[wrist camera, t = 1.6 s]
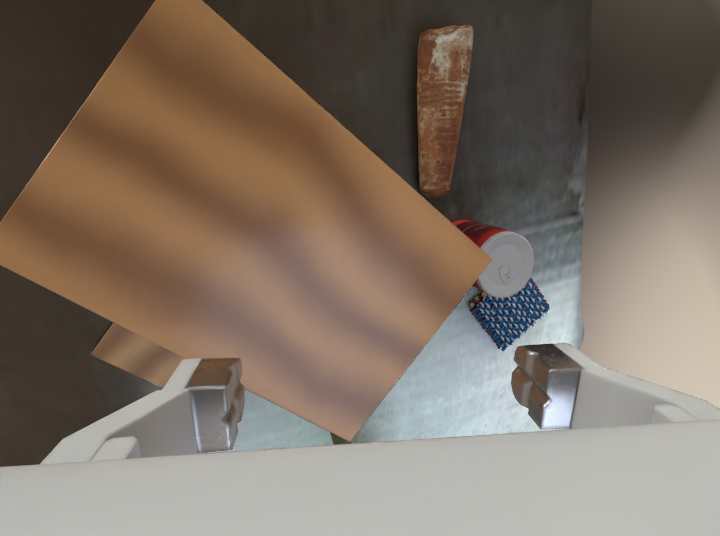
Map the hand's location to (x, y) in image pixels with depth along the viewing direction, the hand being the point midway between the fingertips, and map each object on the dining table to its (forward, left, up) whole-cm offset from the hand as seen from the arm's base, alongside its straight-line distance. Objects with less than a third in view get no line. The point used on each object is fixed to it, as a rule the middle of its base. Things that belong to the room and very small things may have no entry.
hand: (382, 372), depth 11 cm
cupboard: (-1, -1, -38) cm, 38 cm away
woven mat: (+36, +9, -39) cm, 53 cm away
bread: (+8, +21, -39) cm, 45 cm away
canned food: (+23, +11, -39) cm, 46 cm away
